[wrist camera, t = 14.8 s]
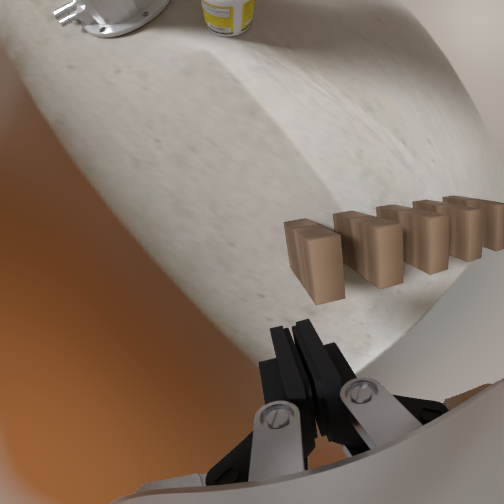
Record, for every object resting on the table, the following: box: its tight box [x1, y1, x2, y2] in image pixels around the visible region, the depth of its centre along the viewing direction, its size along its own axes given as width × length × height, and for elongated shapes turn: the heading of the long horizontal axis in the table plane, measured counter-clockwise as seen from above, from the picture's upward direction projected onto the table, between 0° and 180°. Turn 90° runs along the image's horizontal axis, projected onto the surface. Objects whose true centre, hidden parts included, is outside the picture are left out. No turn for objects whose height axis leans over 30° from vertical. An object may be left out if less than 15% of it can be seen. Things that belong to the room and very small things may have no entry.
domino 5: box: [443, 196, 504, 251], centre depth 25 cm, size 2×5×10 cm, turn 10°
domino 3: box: [376, 205, 449, 275], centre depth 25 cm, size 2×5×10 cm, turn 10°
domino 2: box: [333, 211, 403, 289], centre depth 25 cm, size 2×5×10 cm, turn 10°
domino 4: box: [413, 200, 483, 262], centre depth 25 cm, size 2×5×10 cm, turn 10°
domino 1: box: [284, 218, 345, 305], centre depth 25 cm, size 2×5×10 cm, turn 10°
